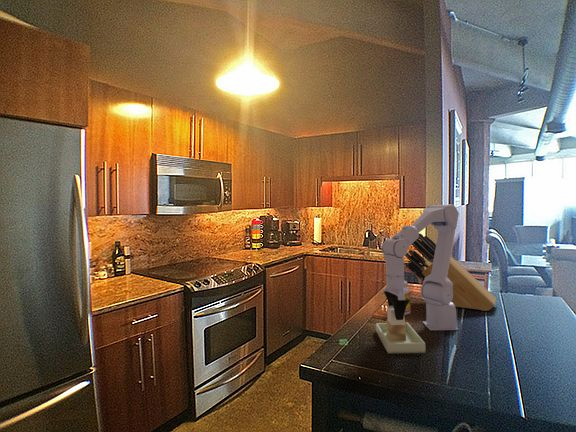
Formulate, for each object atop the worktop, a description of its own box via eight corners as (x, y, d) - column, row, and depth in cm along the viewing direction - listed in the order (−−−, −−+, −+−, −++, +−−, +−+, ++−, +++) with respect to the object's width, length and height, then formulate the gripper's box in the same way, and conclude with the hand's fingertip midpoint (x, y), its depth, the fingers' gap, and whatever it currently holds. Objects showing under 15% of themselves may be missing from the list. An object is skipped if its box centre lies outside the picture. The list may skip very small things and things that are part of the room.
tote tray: (408, 330, 117) (407, 322, 117) (425, 352, 100) (425, 343, 100) (376, 331, 117) (375, 323, 117) (387, 353, 100) (387, 343, 100)
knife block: (411, 295, 160) (409, 231, 159) (497, 305, 139) (495, 232, 138) (403, 301, 151) (401, 233, 150) (494, 313, 130) (493, 235, 129)
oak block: (401, 334, 113) (401, 319, 113) (406, 340, 108) (405, 325, 108) (386, 334, 113) (386, 320, 113) (390, 340, 108) (389, 325, 108)
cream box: (401, 320, 112) (400, 305, 112) (404, 325, 108) (404, 309, 108) (387, 320, 113) (387, 305, 113) (390, 325, 108) (390, 310, 108)
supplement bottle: (412, 315, 132) (411, 283, 132) (394, 315, 133) (393, 283, 133) (409, 310, 139) (408, 279, 138) (392, 309, 140) (391, 279, 139)
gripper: (378, 270, 117) (379, 308, 118) (388, 280, 103) (389, 323, 103) (398, 270, 117) (399, 308, 117) (411, 279, 102) (412, 323, 103)
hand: (396, 315), depth 110 cm, fingers open, 7 cm apart
